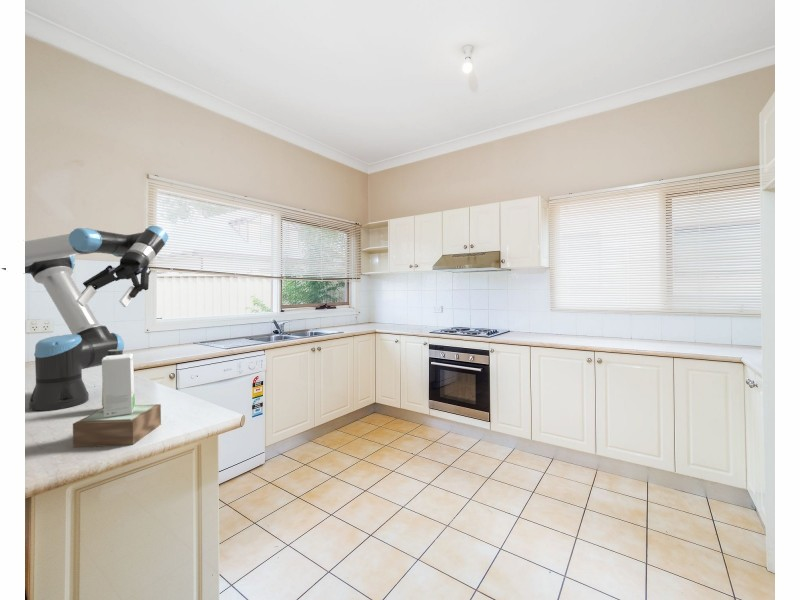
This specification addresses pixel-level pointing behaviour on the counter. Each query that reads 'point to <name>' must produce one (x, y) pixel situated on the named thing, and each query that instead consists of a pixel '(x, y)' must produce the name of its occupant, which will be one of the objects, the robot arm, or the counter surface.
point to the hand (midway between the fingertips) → (101, 303)
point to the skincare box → (118, 385)
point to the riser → (116, 427)
